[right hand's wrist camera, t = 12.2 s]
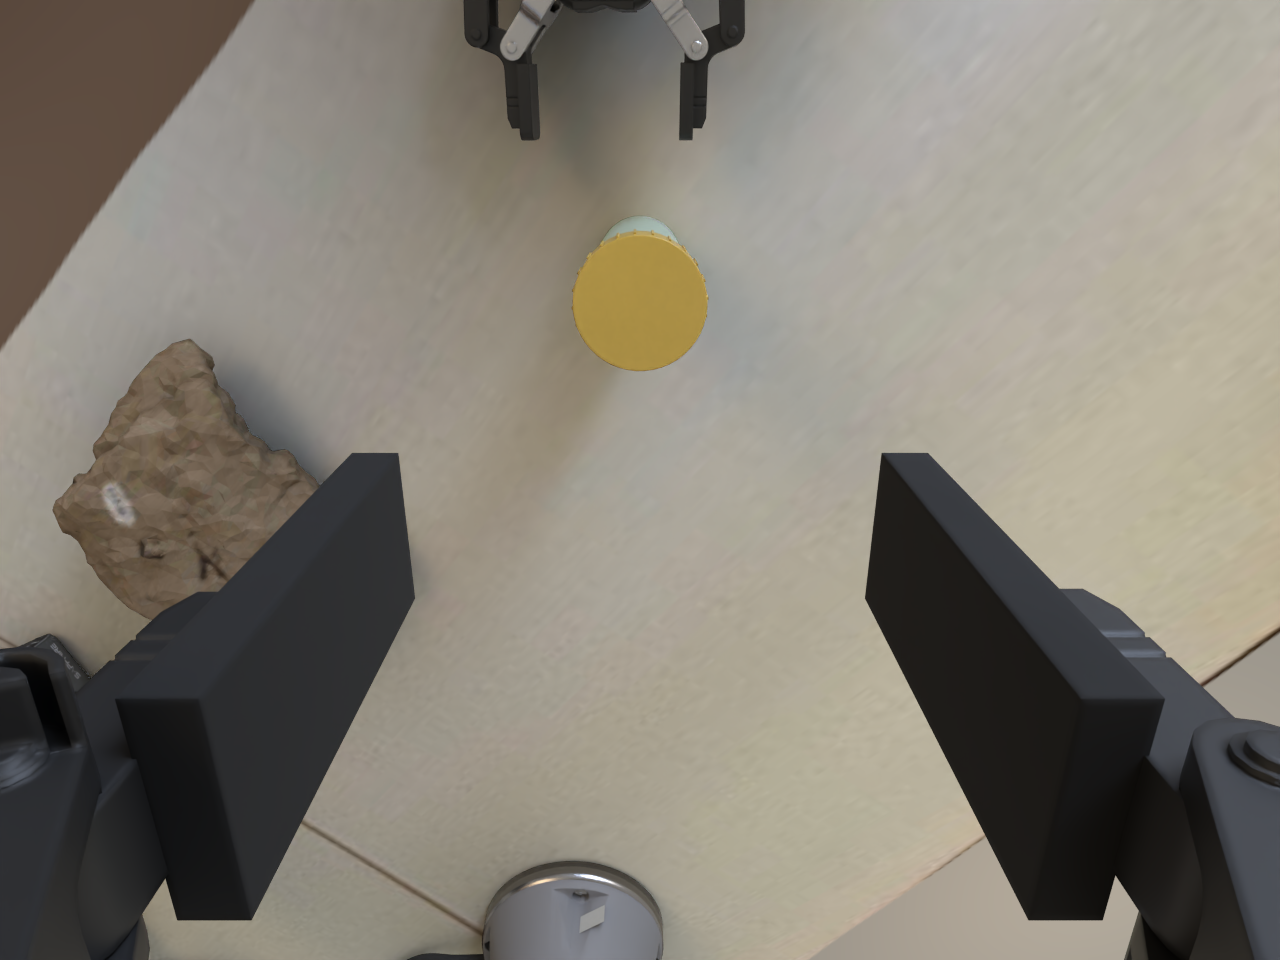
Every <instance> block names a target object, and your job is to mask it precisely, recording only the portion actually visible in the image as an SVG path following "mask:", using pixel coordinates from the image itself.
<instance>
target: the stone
mask: <svg viewBox="0 0 1280 960" xmlns="http://www.w3.org/2000/svg"><path fill="white" fill-rule="evenodd" d="M214 365H215V364H214V361H213V358H212V357H211V356H210V355H209V354H208V353H207V352H205V351H204V350H202V349H201V348H200V347H199V346H198V345H197V344H196V343H195V342H193V341H192V340H191V339H187V340H183V341H180V342H176V343H173V344H171V345H170V346H169V347H168V348H167V349H165V350H164V351H162V352H160V353H158V354H157V355H156V356H155V357H154V358H153V359H152V360H151V361H150V362H149V363H148V364H147V365H146V366H145V368H144V369H143V370H142V371H141V372H140V374H139V375H138V376H137V377H136V378H135V379H134V381H133V382H132V384H131V386H130V387H129V390H128V392H127V394H126V395H125V396H124V397H123V398H121V399H120V400H119V401H118V402H117V405H116V408H115V409H114V411H113V412H112V413H111V417H110V420H109V424H108V426H107V427H106V429H105V430H104V432H103V433H102V435H101V437H100V438H99V439H98V440H97V441H96V442H95V443H94V446H93V453H94V455H95V458H96V461H95V463H94V464H93V466H92V467H91V469H90V470H89V471H88V472H87V473H86V474H78V475H76V476H75V477H74V479H73V484H72V485H71V486H70V487H69V489H68V490H67V491H66V492H65V493H64V495H63V496H62V497H61V498H59V499H57V500H56V501H55V504H54V507H53V512H54V514H55V517H56V519H57V521H58V524H59V526H60V528H61V530H62V532H63V533H66V534H69V535H71V536H72V537H73V538H75V539H76V540H77V541H78V542H79V544H80V545H81V547H82V549H83V550H84V552H85V554H86V560H87V563H88V564H90V565H91V566H92V567H93V569H94V571H95V572H96V574H97V576H98V577H99V579H100V580H101V581H102V582H103V583H104V584H105V585H106V586H107V587H108V588H109V589H110V590H111V591H112V592H113V594H114V595H115V596H116V597H117V598H118V599H119V600H121V601H122V602H123V603H124V604H125V605H126V606H127V607H128V608H130V609H132V610H134V611H135V612H137V613H139V614H141V615H142V616H144V617H146V618H148V619H151V620H153V619H154V618H155V617H156V616H157V615H158V614H159V613H160V612H162V611H163V610H165V609H167V608H169V607H171V606H173V605H174V604H176V603H178V602H180V601H182V600H183V599H185V598H187V597H189V596H191V595H193V594H194V593H196V592H218V591H219V590H220V589H221V588H222V587H223V586H224V585H225V584H226V583H227V582H228V581H229V580H230V579H231V578H232V577H233V576H234V575H235V574H236V573H237V572H238V571H239V570H240V569H241V568H242V566H243V565H244V564H245V563H246V562H247V561H248V560H249V559H250V558H251V557H252V556H253V555H254V554H255V553H256V552H257V551H258V550H259V549H260V548H261V547H262V546H263V545H264V544H265V543H266V542H267V541H268V540H269V539H270V538H271V536H272V535H273V534H274V533H275V532H276V531H277V530H278V529H279V528H280V527H281V526H282V525H283V524H284V523H285V522H286V521H287V520H288V519H289V518H290V517H291V516H292V515H293V514H294V513H295V512H296V511H297V510H298V509H299V508H300V507H301V505H302V504H303V503H304V502H305V501H306V500H307V499H308V498H309V497H310V496H311V495H312V494H313V493H314V492H315V491H316V490H317V489H318V488H319V485H318V483H317V482H316V480H315V478H314V477H312V476H311V475H309V474H308V473H306V472H305V471H304V470H303V469H302V468H301V467H300V465H299V464H298V463H297V461H296V459H295V457H294V456H293V455H292V454H291V453H290V452H289V451H288V450H285V449H283V450H278V451H271V450H269V448H268V446H267V445H266V443H265V442H264V441H263V440H261V439H260V438H258V437H255V436H252V434H251V433H250V432H249V430H248V428H247V426H246V423H245V421H244V419H243V418H242V417H241V416H240V415H238V414H236V412H235V404H234V402H233V400H232V399H231V397H230V395H229V394H228V392H226V391H225V390H224V389H222V388H221V387H220V386H219V385H218V382H217V379H216V377H215V374H214V372H213V371H212V370H213V367H214Z"/></svg>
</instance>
